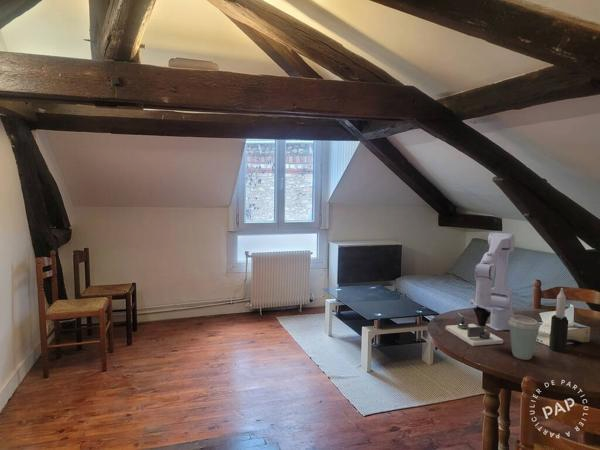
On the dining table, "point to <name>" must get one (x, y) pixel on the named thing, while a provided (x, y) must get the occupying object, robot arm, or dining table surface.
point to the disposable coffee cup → (523, 335)
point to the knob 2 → (478, 332)
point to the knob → (461, 321)
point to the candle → (559, 326)
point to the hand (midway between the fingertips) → (481, 326)
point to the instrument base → (473, 340)
